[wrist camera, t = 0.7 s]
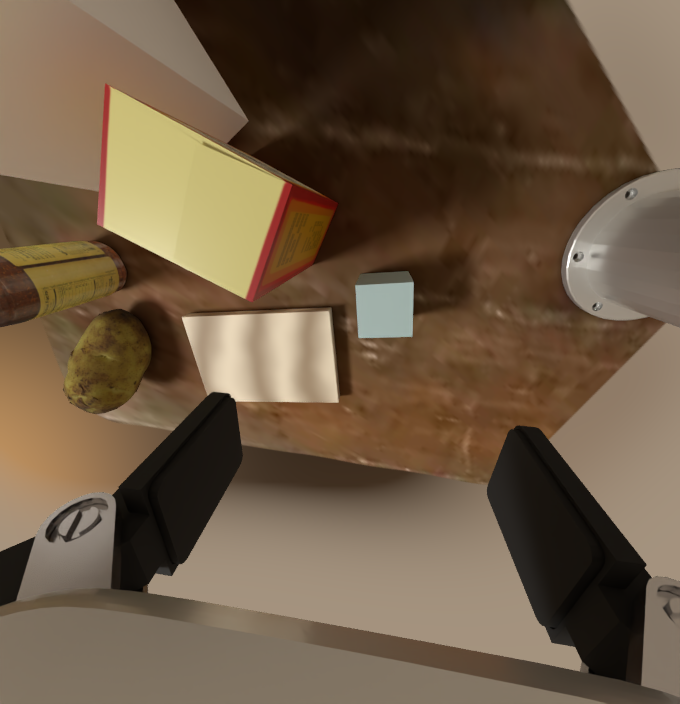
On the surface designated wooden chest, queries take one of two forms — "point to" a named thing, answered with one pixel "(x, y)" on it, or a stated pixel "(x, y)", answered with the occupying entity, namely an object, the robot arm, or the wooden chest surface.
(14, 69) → the milk
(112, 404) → the potato
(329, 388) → the birch board
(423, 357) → the wooden chest surface
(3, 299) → the sauce bottle
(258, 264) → the baking soda box
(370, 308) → the teal block
